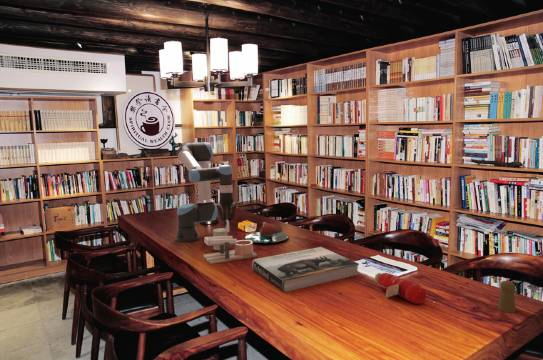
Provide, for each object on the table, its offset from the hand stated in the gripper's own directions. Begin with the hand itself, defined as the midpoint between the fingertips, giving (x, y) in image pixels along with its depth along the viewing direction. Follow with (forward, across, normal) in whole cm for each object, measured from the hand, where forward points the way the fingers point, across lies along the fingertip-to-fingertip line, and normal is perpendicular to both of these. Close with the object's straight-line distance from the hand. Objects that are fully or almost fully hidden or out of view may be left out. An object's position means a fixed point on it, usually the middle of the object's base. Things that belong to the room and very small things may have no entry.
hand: (227, 231), depth 235 cm
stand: (+13, -2, -9) cm, 15 cm away
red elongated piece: (+12, +45, -93) cm, 104 cm away
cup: (+12, +7, -9) cm, 16 cm away
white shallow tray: (+4, -7, -5) cm, 10 cm away
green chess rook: (+11, +74, -123) cm, 144 cm away
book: (+13, +24, -51) cm, 58 cm away
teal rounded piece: (+13, +32, +15) cm, 37 cm away
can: (+13, -2, +10) cm, 17 cm away
